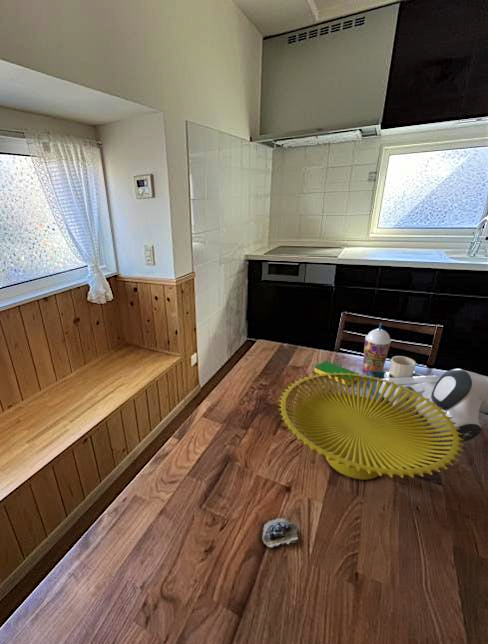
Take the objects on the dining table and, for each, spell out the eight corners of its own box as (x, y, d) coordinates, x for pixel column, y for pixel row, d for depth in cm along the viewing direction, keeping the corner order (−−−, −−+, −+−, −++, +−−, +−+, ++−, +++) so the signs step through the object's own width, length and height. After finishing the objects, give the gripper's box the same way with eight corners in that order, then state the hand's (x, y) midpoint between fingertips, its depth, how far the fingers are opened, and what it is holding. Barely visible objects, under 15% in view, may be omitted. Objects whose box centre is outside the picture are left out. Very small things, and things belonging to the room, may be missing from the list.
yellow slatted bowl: (245, 464, 90) (246, 418, 84) (315, 397, 115) (319, 358, 109) (422, 571, 63) (441, 516, 57) (461, 453, 89) (478, 406, 82)
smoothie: (361, 375, 126) (369, 326, 118) (358, 364, 133) (366, 317, 125) (386, 378, 123) (396, 328, 115) (382, 367, 130) (391, 319, 122)
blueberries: (304, 538, 70) (305, 532, 70) (276, 558, 67) (276, 552, 66) (281, 513, 76) (282, 508, 75) (253, 531, 72) (254, 525, 72)
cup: (403, 386, 116) (410, 356, 111) (411, 398, 110) (419, 366, 105) (382, 386, 117) (388, 355, 112) (389, 397, 111) (396, 365, 106)
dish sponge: (348, 386, 120) (349, 380, 119) (313, 372, 130) (314, 366, 129) (358, 379, 124) (359, 373, 123) (324, 365, 134) (325, 360, 133)
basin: (410, 383, 119) (413, 371, 117) (430, 407, 106) (433, 395, 104) (366, 381, 122) (368, 370, 120) (380, 405, 109) (382, 393, 107)
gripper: (464, 386, 98) (432, 363, 110) (393, 390, 98) (369, 367, 111) (458, 404, 100) (427, 380, 113) (389, 408, 101) (366, 383, 113)
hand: (398, 373), depth 112 cm, fingers closed on cup, 7 cm apart
